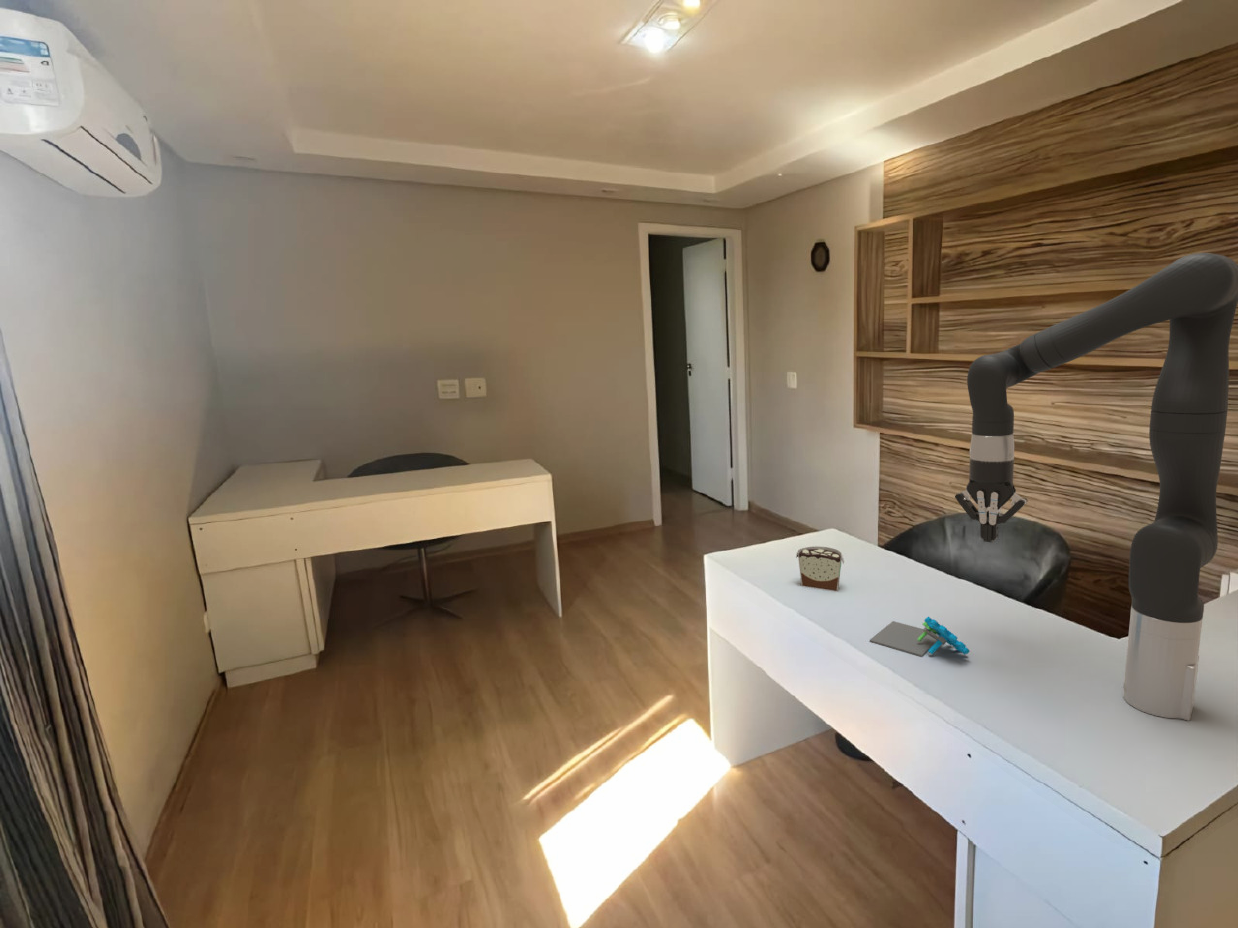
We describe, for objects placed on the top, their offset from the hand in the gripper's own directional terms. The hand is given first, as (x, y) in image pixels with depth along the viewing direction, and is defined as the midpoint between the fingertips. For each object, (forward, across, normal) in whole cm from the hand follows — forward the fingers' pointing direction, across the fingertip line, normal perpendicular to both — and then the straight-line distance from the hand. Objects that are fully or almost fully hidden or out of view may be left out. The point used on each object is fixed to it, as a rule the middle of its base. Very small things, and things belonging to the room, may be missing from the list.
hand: (988, 541), depth 129 cm
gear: (+25, +5, +4) cm, 26 cm away
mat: (+23, +14, +5) cm, 28 cm away
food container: (+23, +43, -13) cm, 50 cm away
